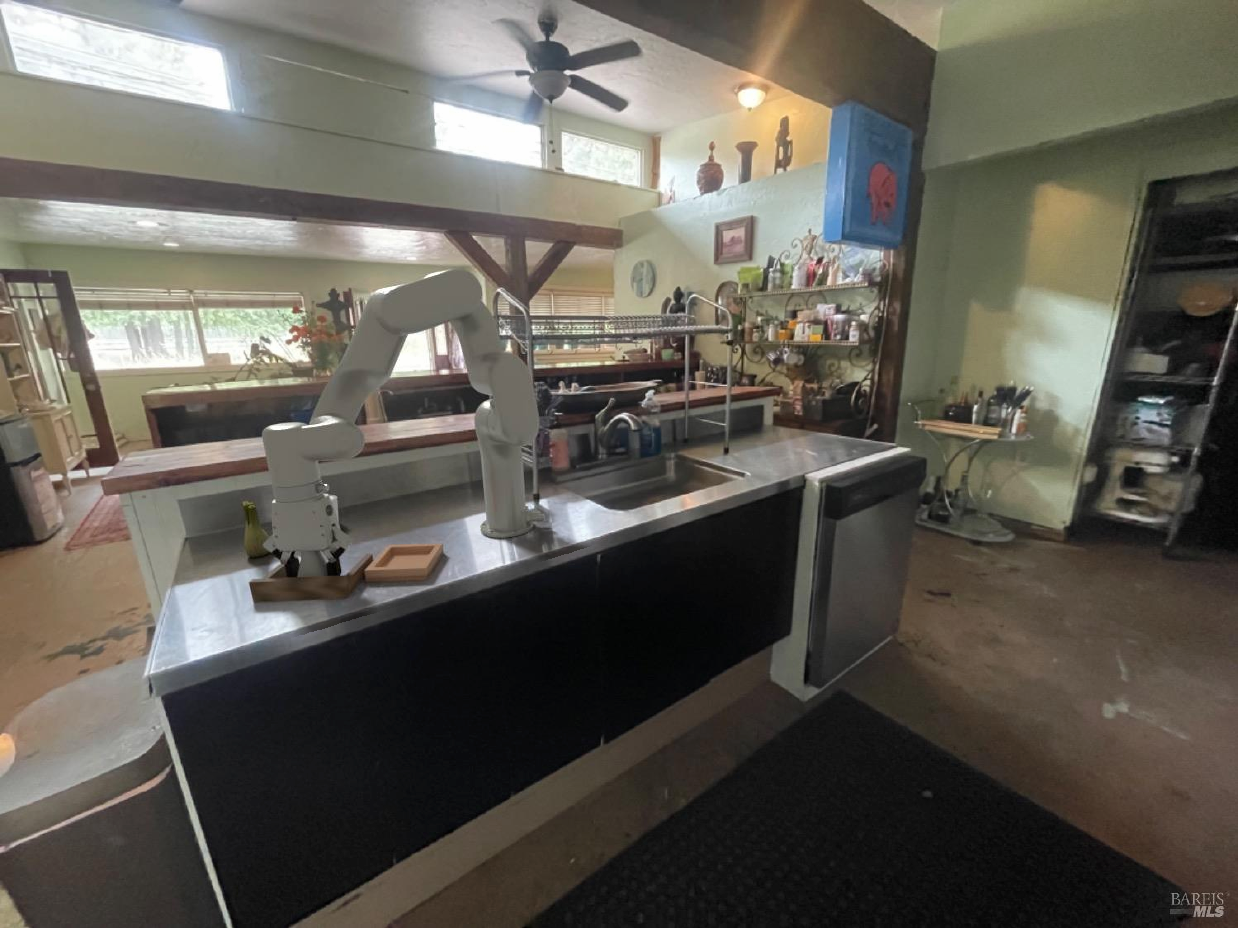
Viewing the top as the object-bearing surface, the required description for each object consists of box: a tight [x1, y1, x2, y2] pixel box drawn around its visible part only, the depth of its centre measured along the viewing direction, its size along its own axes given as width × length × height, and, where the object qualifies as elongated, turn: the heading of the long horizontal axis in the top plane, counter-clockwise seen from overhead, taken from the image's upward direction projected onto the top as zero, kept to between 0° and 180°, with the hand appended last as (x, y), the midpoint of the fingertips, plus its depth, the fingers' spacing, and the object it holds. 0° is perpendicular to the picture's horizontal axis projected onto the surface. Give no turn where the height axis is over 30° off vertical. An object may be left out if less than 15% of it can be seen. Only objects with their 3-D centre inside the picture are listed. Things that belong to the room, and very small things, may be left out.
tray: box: [364, 542, 445, 583], centre depth 102 cm, size 12×12×2 cm
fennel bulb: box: [241, 501, 270, 558], centre depth 107 cm, size 6×5×12 cm
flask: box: [297, 550, 329, 577], centre depth 94 cm, size 7×7×10 cm
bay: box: [248, 553, 374, 603], centre depth 95 cm, size 16×12×4 cm
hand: (315, 578), depth 95 cm, fingers closed on flask, 6 cm apart
